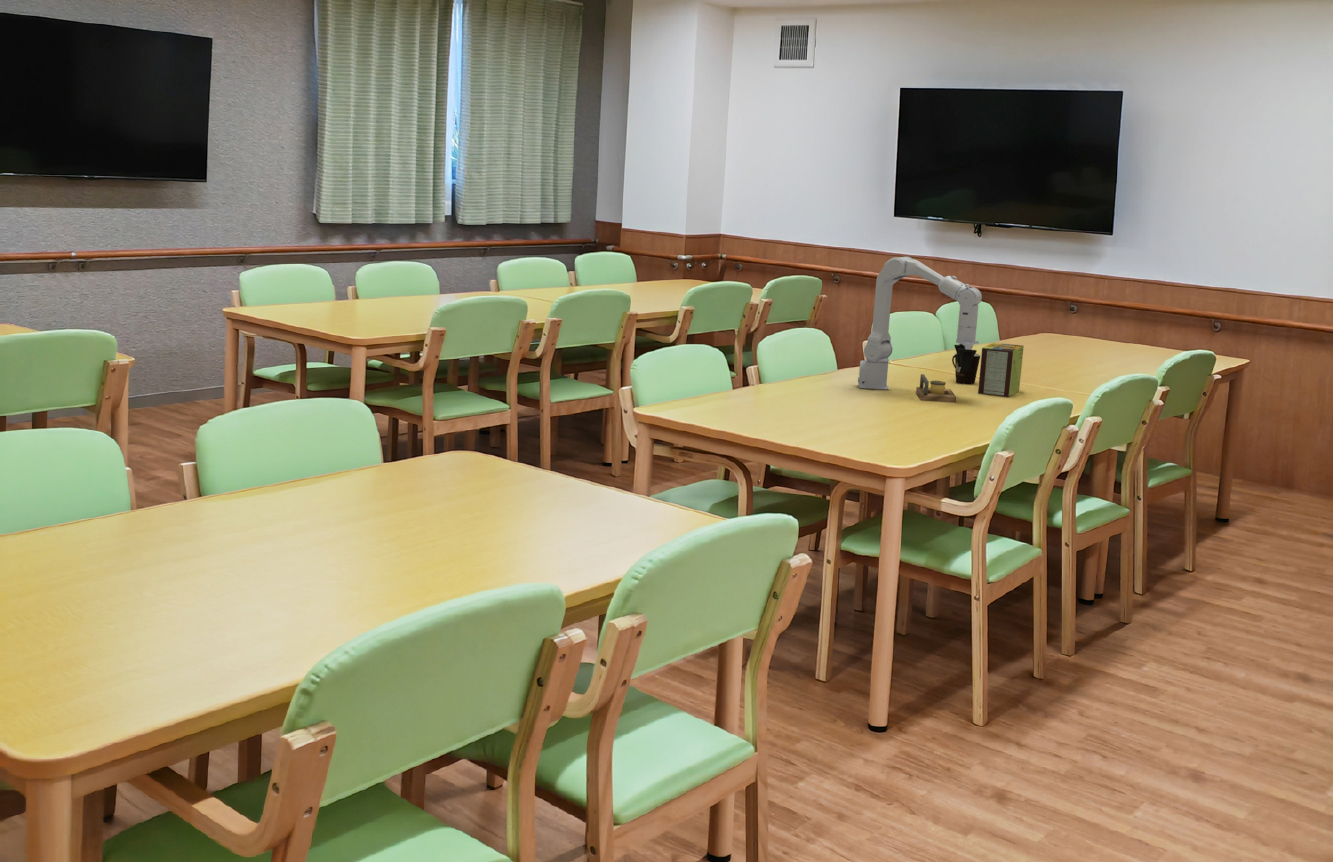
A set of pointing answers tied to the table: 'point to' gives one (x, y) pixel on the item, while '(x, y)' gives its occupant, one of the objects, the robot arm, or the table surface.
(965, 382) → the coffee mug
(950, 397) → the brown piece
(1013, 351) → the protein box
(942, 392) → the cord reel
